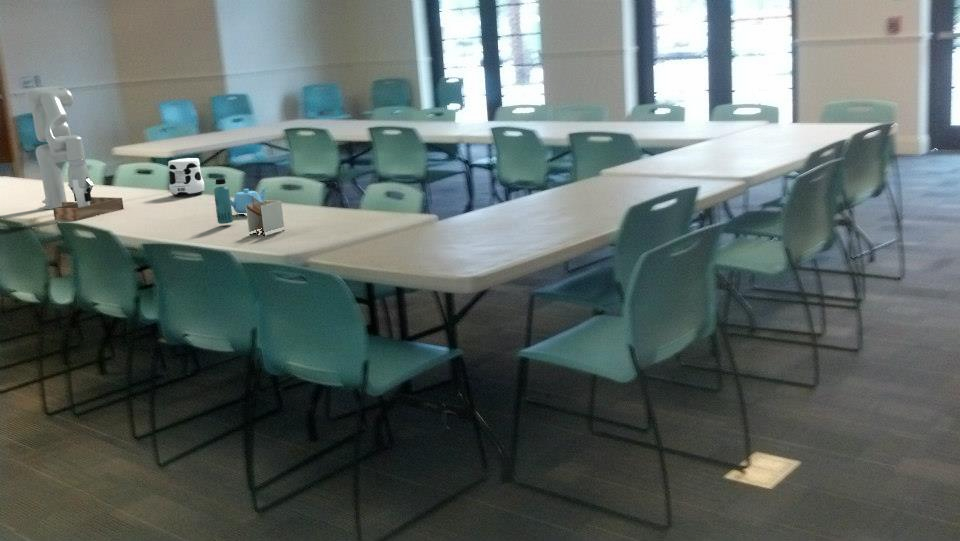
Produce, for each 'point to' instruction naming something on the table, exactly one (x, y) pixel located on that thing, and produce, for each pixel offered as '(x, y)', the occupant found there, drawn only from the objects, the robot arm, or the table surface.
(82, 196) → the white cup
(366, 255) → the table surface
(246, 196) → the teapot
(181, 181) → the milk container
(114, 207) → the angular wooden frame
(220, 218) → the beverage bottle
